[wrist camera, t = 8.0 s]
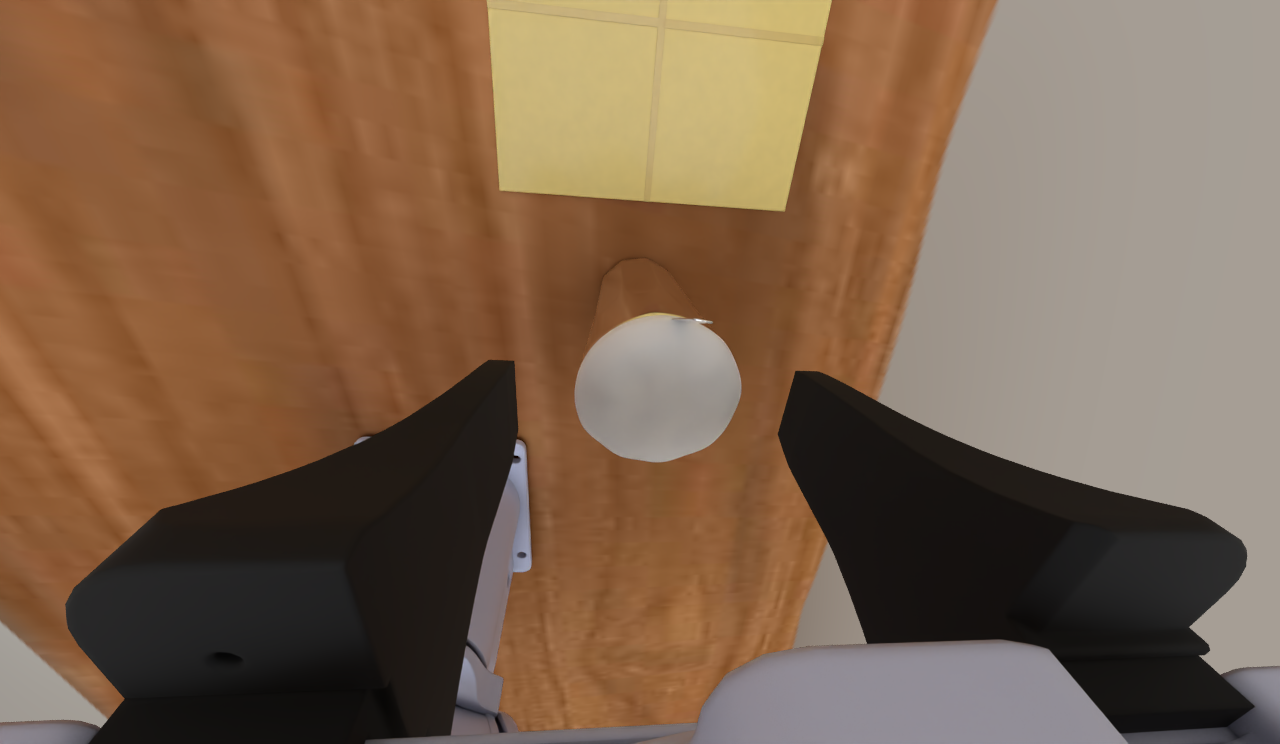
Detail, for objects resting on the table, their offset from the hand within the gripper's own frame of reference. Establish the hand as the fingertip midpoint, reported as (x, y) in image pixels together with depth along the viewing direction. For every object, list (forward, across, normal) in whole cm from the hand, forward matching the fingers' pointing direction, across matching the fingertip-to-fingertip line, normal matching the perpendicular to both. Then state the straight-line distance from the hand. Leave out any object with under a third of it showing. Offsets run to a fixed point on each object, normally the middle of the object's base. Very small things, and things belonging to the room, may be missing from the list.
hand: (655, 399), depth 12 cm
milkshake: (+9, 0, 0) cm, 9 cm away
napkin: (+9, 0, -9) cm, 13 cm away
